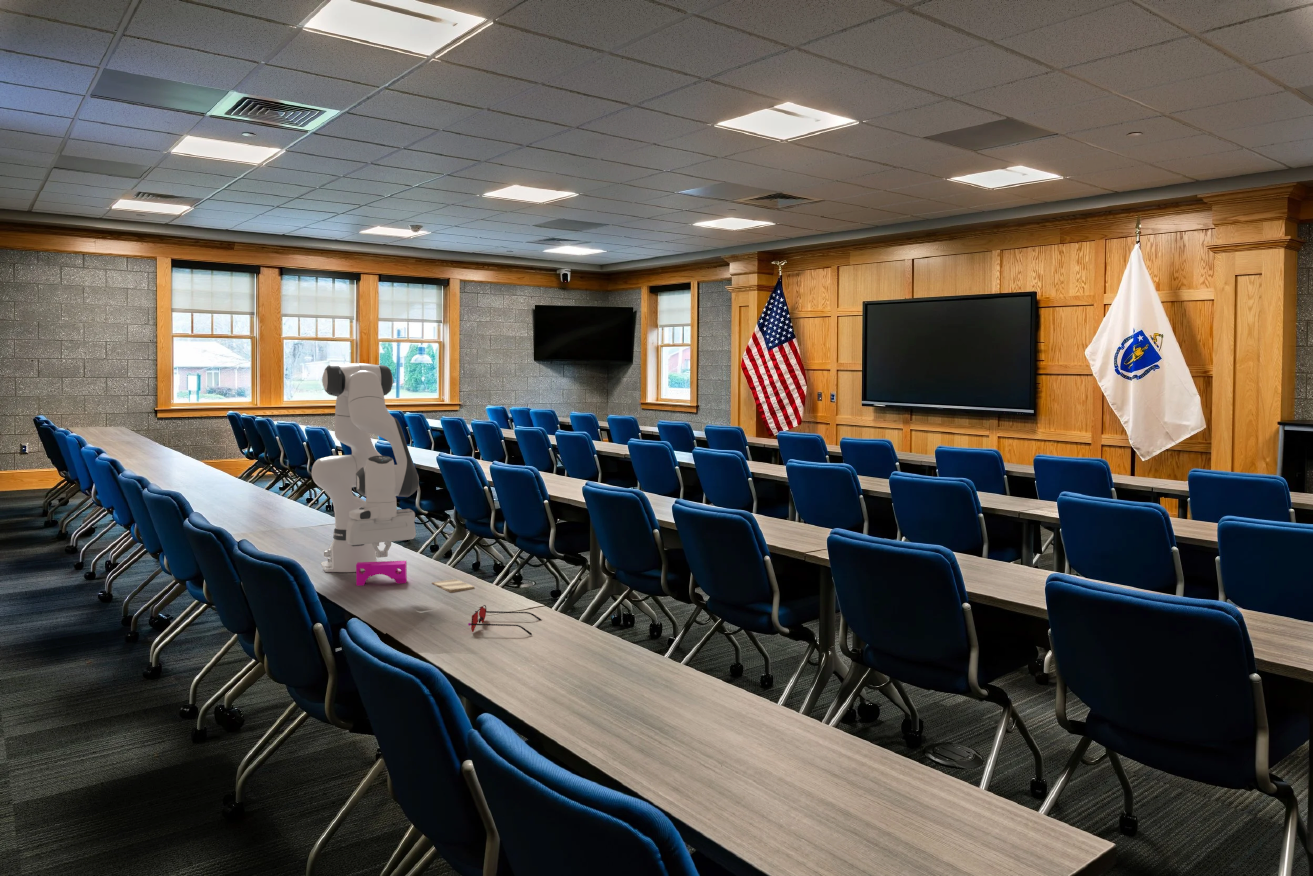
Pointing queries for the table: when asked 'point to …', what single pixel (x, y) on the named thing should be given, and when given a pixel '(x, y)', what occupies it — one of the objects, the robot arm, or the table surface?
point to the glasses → (482, 616)
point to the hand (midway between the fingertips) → (381, 557)
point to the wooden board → (453, 585)
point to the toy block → (381, 571)
